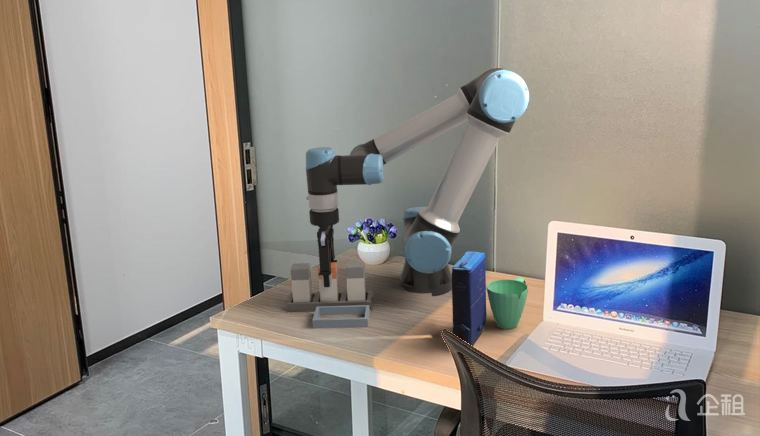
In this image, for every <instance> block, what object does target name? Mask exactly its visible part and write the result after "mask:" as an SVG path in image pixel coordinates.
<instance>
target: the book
mask: <svg viewBox="0 0 760 436" xmlns="http://www.w3.org/2000/svg"><path fill="white" fill-rule="evenodd" d="M486 258H487V257H486V254H485V252H479V251H466V252H465V253H464V254H463V255H462V256H461V258H460V259H459V260H458V261H456V262H455V264H454V265H453V266H452V268H451V269H452V270H451V274H452V289H451V300H452V301H451V303H452V304H451V306H452V308H451V309H452V334H455V335H456V336H458V337H459V338H461V339H462V340H464V341H466V342H467V343H469V344H470V345H472V347H473V346H474V345H475V343H476V341H477V340H478V339H479V338H480V336H481V334H482V332H483V330H484V329H485V327H486V325H487V285H486V284H487V282H486V281H487V280H486V279H487V277H486V260H487V259H486Z"/></svg>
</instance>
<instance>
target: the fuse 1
mask: <svg viewBox="0 0 760 436" xmlns="http://www.w3.org/2000/svg"><path fill="white" fill-rule="evenodd" d="M311 271H312V270H311V263H310V262H307V263H304V262H303V263H293V264H292V265H291V268H290V279H291V280H290V281H291V291H292V293H293V303H296V302H312V301H313V296H312V293H313V285H312V284H313V283H312V272H311Z"/></svg>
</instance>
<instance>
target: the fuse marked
mask: <svg viewBox="0 0 760 436" xmlns="http://www.w3.org/2000/svg"><path fill="white" fill-rule="evenodd" d="M317 271H318V273H320V264H319V266H318V268H317ZM338 272H339V270H338V261H337V262H331V273H332V282H333V298H323V293H322V279H321V275H318V285H319V292H320V301H321V302H331V301H340V300H339V292H340V289H339V286H340V285H339V274H338ZM318 273H317V274H318Z"/></svg>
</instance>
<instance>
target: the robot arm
mask: <svg viewBox="0 0 760 436" xmlns="http://www.w3.org/2000/svg"><path fill="white" fill-rule="evenodd" d="M529 91H530V90H529V88H528V86H527V84H526V82H525V80H524V79H523V78H522V77H521V76H520V75H519V74H517V73H515V72H514V71H511V70H508V69H506V68H499V67H498V68H497V67H496V68H491V69H488V70H486V71H484V72H482V73H481V74H479V75H478V76H477V77H476V78H473V79H472V80H471V81H469V82H467V83H466V84H464V85H461V87H459V88H458V90H457V92H456V93H455V94H454V95H452V96H450V97H448V98H446V99H445V100H443V101H441V102H439V103H437V104H436V105H435V104H434V106H432V107H429V108H428V109H426V110H423V112H420V113H419V114H417V115H415V116H413V117H411V118H409V119H408V120H406V121H404V122H402V123H400V124H397V125H396V126H394V127H392V128H391V129H389V130H387V131H385V132H383V133H381V134H379V135H378V136H376V137H374V138H373V139H371V140H369V141H366V142H365V143H360V144H358V145H356V146H354V147H353V148H352V150H351V151H350V153H349V154H348V155H337V154H336V149H334V148H333V147H327V146H319V147H313V148H309V149H308V150H307V151H306V152H305V173H306V174H305V175H306V183H307V185H306V186H307V194H308V195H307V196H305V199H306V200H307V201H308V207H309V215H308V216H309V223H310V224H311V225H312V226H315V227H317V228H318V227H319V228H318V229H317V231H316V238H317V245H318V246H317V247H318V259H319V260H318V261H319V262H318V263H319V265H320V273H317V275H318V276H319V275H321V279H322V293H323V298H333V282H332V273H331V262H337V263H338V260H337V259H336V255H335V246H334V245H335V243H334V240H335V239H334V233H335V231H334V225H337V224H338V223H339V222H340V211H339V208H338V207H339V193H338V192H339V190H338V186H354V185H355V186H356V185H360V186H361V185H362V186H363V185H368V186H372V185H378V184H382V183H383V181H384V165H386V164H388V163H390V162H393V160H396V159H398V158H399V157H401V156H403V155H405V154H407V153H410V152H411V151H413V150H415V149H417V148H418V147H420V146H423V145H424V144H426V143H428V142H429V141H432V140H433V139H436V138H438V137H440V136H441V135H442V134H446V133H447V132H449V131H450V130H453V129H454V128H456V127H459V126H460V125H462V124H464V123H465V122H468V123H467V125H466V127H465V129H464V132H463V133H462V135H461V137H460V139H459V142H458V144H457V146H456V148H455V150H454V151H453V154H452V156H451V157H450V161H449V162H448V164H447V166H446V168H445V171H444V173H443V175H442V177H441V179H440V181H439V183H438V185H437V187H436V189H435V191H434V193H433V195H432V197H431V199H430V201H429V203H428V205H427V206H418V207H417V206H415V207H410V208H409V207H408V208H406V209H405V210H404V211H403V218H402V221H403V231H404V232H403V241H404V243H403V244H404V245H403V254H404V257H405V258H404V264H403V267H402V271H401V273H400V274H401V275H400V278H399V286H400V288H401V289H403V291H407V292H411V293H416V294H431V296H439V295H442V294H446V293H448V292H450V291H452V270H451V269H450V267H449V264H448V263H449V262H450V260H451V258H452V257H451V256H452V248H453V245H454V243H455V242H456V240H457V238H458V235H460V234H459V233H460V231H461V229H460V226H459V221H460V219H461V217H462V215H463V213H464V210H465V209H466V206H467V205H468V202H469V200H470V198H471V197H472V195H473V192H474V190H475V189H476V186H477V185H478V182H479V181H480V178H481V177H482V174H483V173H484V170H485V169H486V167H487V164H488V163H489V160H490V158H491V157H492V154H493V153H494V151H495V149H496V146H497V145H498V143H499V140H500V139H501V138H503V137H505V136H508V135H509V134H510V133H511V131H512V129H513V127H514V125H515V123H516V121H517V120H518V119H519V118H520V117H522V116H523V114H524V113H525V111H526V110H527V107H528V105H529V101H530V92H529Z"/></svg>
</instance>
